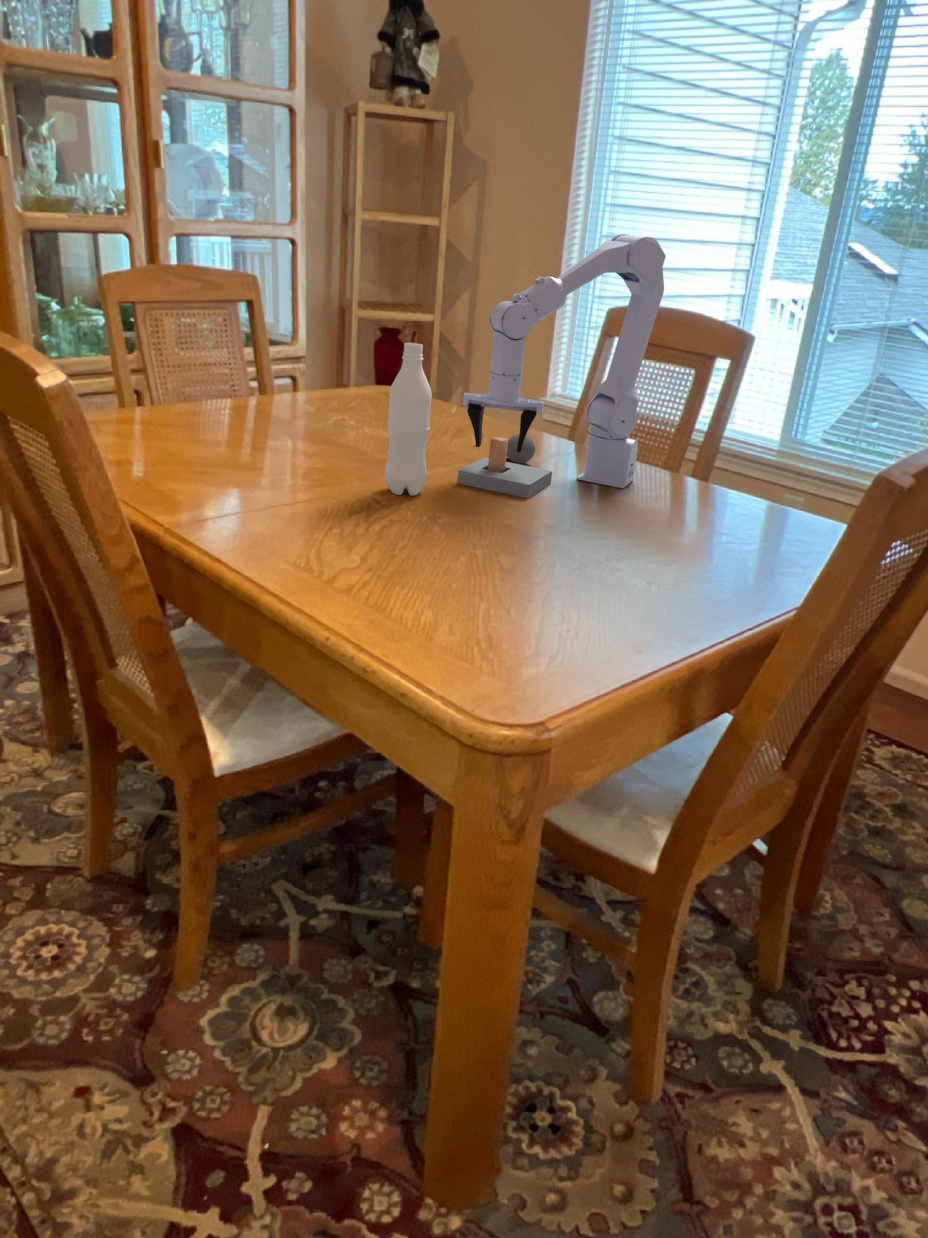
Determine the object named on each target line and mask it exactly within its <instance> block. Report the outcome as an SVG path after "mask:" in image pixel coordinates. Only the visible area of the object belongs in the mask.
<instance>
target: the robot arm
mask: <svg viewBox="0 0 928 1238" xmlns="http://www.w3.org/2000/svg"><path fill="white" fill-rule="evenodd" d="M665 260H666V254H665V252H664V250H663V248H662V247H661V245H660V243H659V242H658V240H657V239H656V238H654V237H652V236H636V235H629V234H625V233H620V234H619V233H618V234H617V235H615V236H614V237H612V238H611V239H610V240H609V239H608V240H606V241H604V242H603V243H601V244H600V245H599V246H598V247H597V248H596V249H595V250H594V251H591V253H589V254H588V255H586V256H585V257H584V258H582V259H581V260H580V261H578V262H577V263H575V264H574V265H573V266H572V267H569V269H567V270H566V271H564V272H563V273H561V275H559V276H558V277H553V276H550V275H548V276H545V277H543V276H538V277H537V278H535V279H534V284H533V285H532V286H530V287H528V288H527V289H525V290H524V291H522V292H520V293H518V292H516V293H513V295H512V300H508V301H507V300H505V301H501V302H499V303H498V304H496V306H495V307H494V308H493V309H494V310H492V311H491V315H490V316H489V317H488V322H489V326H490V328H491V330H492V331H493V336H492V337H493V338H492V347H491V357H490V369H489V370H490V371H489V380H488V392H487V393H470V392H464V394H463V395H462V405H461V406H466V407H467V406H468V407H467V414H468V417H469V420H470V422H471V423H470V424H471V425H472V429H473V430H472V431H473V433H474V439H475V447H476V448H480V447H481V445H482V439H483V438H482V437H483V435H482V434H483V420H484V415H485V414H484V413H485V412H484V411H485V408H491V409H498V410H499V409H500V410H509V411H517V412H521V414H520V421H519V422H520V423H519V424H520V425H519V433H518V434H519V440H518V446H517V452H521V451H522V446H523V442H524V439H525V437H526V435H528V431H529V429H530V427H531V425H532V423H533V422H534V420H535V418H536V416H537V415H542V414H543V412H544V404H545V402H544V401H542V400H536V399H528V398H525V397H521V395H520V394H521V387H522V378H523V377H522V376H523V368H524V358H525V357H524V356H525V347H526V346H525V345H526V337H528V336H529V335H530V334H531V332H532V330H533V328H534V326H535V325H536V324H537V323H540V321H543V320H544V319H545V318H547V317H549V316H550V315H552V314H553V313H554V312H556V311H557V310H559V309H561V308H562V307H564V305H565V303H566V299H567V297H568V295H569V294H571V293H574V291H577V290H578V289H580V288H582V287H583V286H585V285H587V284H588V283H590V282H592V281H593V280H596V279H597V278H599V277H600V276H603V275H604V274H605V273H606V274H607V273H608V274H609V273H611V274H612V273H615V274H616V275H617V276H619V277H620V278H621V279H623V281H624V283H625V286H626V287H627V288H628V291H629V292H630V299H629V302H628V305H627V308H626V311H625V316H624V318H623V321H622V325H621V328H620V332H619V335H618V339H617V342H616V345H615V348H614V353H613V356H612V359H611V362H610V366H609V368H608V369H609V370H608V372H607V376H606V378H605V380H604V381H603V382H602V383H601V384H600V385H598V386H597V387H596V391H595V393H594V395H593V397H592V399H590V401H589V402H588V404H587V406H586V408H585V417H586V420H587V422H588V423H589V424H590V425H589V434H588V441H587V447H586V448H587V449H586V454H585V462H584V467H583V472H581V473H580V474H578V475H577V476H576V480H578V481H579V480H580V481H585V482H589V483H595V484H599V485H603V486H608V487H612V488H613V487H614V488H620V489H624V488H625V487H627V486H628V485H629V484H630V483H632V482H633V481H634V475H635V468H636V462H637V456H638V450H639V447H638V446H639V442H638V440H637V439H634V438H630V437H629V435H630V434H631V433H633V431H634V429H635V427H636V426H637V423H638V414H637V411H638V409H637V408H638V405H639V398H638V395H637V392H636V388H635V386H636V382H637V379H638V376H639V373H640V370H641V367H642V364H643V361H644V356H645V354H646V350H647V347H648V343H649V341H650V338H651V334H652V332H653V331H652V330H653V328H654V325H655V321H656V318H657V314H658V313H659V312H658V311H659V308H660V306H661V302H662V298H663V296H664V291H665V282H664V269H663V267H664V263H665Z"/></svg>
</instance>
